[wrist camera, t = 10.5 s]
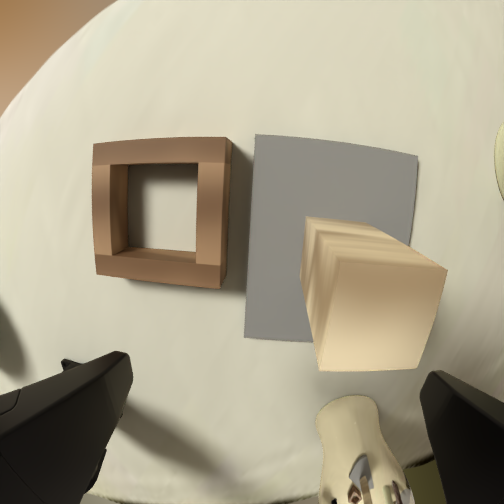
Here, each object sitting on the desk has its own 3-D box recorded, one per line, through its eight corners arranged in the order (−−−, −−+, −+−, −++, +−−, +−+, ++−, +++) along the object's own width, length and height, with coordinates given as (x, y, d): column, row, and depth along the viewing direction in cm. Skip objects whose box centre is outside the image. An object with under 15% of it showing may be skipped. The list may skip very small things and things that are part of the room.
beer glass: (394, 406, 22) (440, 531, 8) (343, 444, 24) (361, 564, 9) (349, 379, 21) (389, 537, 7) (295, 423, 23) (297, 565, 9)
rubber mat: (383, 339, 20) (385, 342, 20) (244, 333, 21) (244, 337, 20) (414, 156, 17) (417, 156, 16) (256, 135, 17) (255, 134, 17)
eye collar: (226, 275, 20) (219, 288, 17) (113, 264, 20) (96, 274, 18) (232, 142, 18) (225, 137, 15) (112, 146, 18) (93, 143, 16)
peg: (356, 280, 19) (416, 368, 9) (299, 276, 19) (319, 370, 9) (365, 222, 18) (447, 270, 8) (305, 216, 18) (340, 261, 8)
